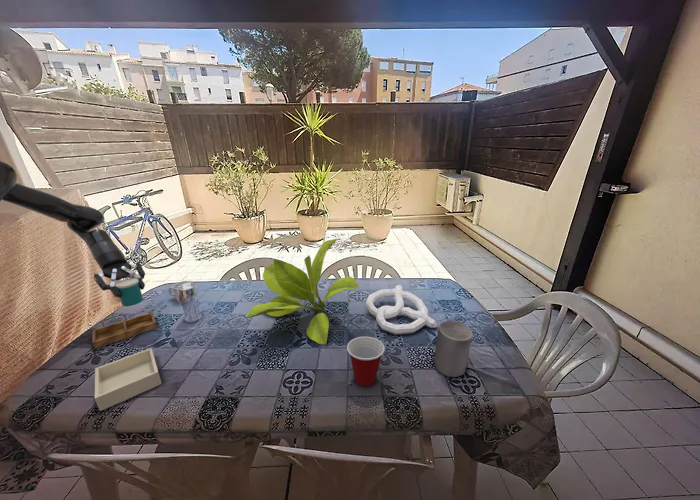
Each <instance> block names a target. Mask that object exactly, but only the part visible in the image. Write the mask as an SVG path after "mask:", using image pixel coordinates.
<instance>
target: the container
mask: <svg viewBox="0 0 700 500" xmlns="http://www.w3.org/2000/svg"><path fill="white" fill-rule="evenodd" d="M138 282H139V281H138V279H135V278H132V279H130V278H125V279H121V280H118V281H117V282H115V286H116V287H117V289H118V290H119V292H120V293H121V297H119V300H120V303H121V305H122V306H123V307H131V306H136V305H138V304H140V303H142V302H143V301H144V298H143V294H142V290H141V289H140V286H139V283H138Z"/></svg>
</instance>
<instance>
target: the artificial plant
mask: <svg viewBox="0 0 700 500" xmlns="http://www.w3.org/2000/svg"><path fill="white" fill-rule="evenodd" d="M337 241H338V238H333V239H329V240H326V241H324V242H323V243H322V244H321V245H320V247H319V248H318V250H317V252H316V254H315V255H314V258H313V260H312V258H311V255H307V256H306V257H305V258H304V259H303V260H304V265H305V268H306V272H307V273H306V272H305V271H303V269H301V268H299V267H297V266H296V265H294V264H293V263H289V262H286V261H283V260H280V259H274V260H273V263H272V264H270V265H267V266H266V267H265V268H264V269H263V273H262V280H263V282H264V284H265V286H266V287H267V288H268V289H269V290H270V291H271V292H272V293H275V294H277V296H276V297H274V298H272V299H271V300H270V301H269V302H265V303H259V304H256V305H254V306H253V307H252V308H251V309H250V310H249V311H248V313H247V314H246V315H245V317H246V318H254V317H258V316H262V315H264V314H266V315H268V316H270V317H277V318H278V317H280V318H281V317H284V316H286V315H289V314H291V313H294V312H295V311H297V310H299V309H308V310H309V309H310V310H312V311H315V312H317V313H316V315H314V316H313V318H312V319H311V320H310V322H309V324H308V326H307V328H306V336H307V337H308V338H309V339H310V341H311V340H312V341H314V342H315V343H316V344H319V345H327V342H328V336H329V335H328V334H329V328H330V321H329V317H328V316H327V315H326V313H325V312H324V311H325V310H326V307H327V305H326V303H325V302H326V301H327V300H329V299H330V298H332V297H333V296H335V295H337V294H339V293H341V292H344V291H347V290H356V289H359V288H360V286H359V284H358V282H357V281H356V280H355V278H354V277H352V276H344V277H341V278H339V279H337V280H335V281H334V282H333V283H332V284H331V286H330V287H329V289H328V291H327V293H326V295H325V296H324V298H323V300H322V299H321V297H320V295H319V294H320V293H319V290H318V289H319V288H318V284H319V281H320V280H321V278H322V277H321V276H322V270H323V265H324V260H325V257H326V254H327V251H328V250H329V249H330V248H331V247H332V246H333V245H334V244H335V243H336V242H337ZM316 298H317V300H318V302H317V301H316ZM298 300H300V301H306V302H307V301H308V302H309V303H310V304H311V305H312V306H311V305H304V304H301V302H299V301H298Z"/></svg>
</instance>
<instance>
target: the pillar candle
mask: <svg viewBox="0 0 700 500" xmlns="http://www.w3.org/2000/svg"><path fill="white" fill-rule="evenodd" d="M473 336H474V334H473V332H472V329H471V328H469V326H468V325H466V324H464V323H463V322H459V321H456V320H445V321H442V322H440V323H439V325H438V329H437V337H436V344H435V349H434V355H433V356H434V357H433V365H434V367H435V369H436V370H437V371H438V372H439V373H440V374H442V375H444V376H445V377H446V376H447V377H450V378H458V377H460V376H463V375H464V374H465V373H466V369H467V365H468V361H469V360H468V359H469V355H470V349H471V343H472V339H473Z"/></svg>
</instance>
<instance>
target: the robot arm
mask: <svg viewBox="0 0 700 500" xmlns="http://www.w3.org/2000/svg"><path fill="white" fill-rule="evenodd" d="M1 201H3V202H7V203H10V204H13V205H15V206H18V207H20V208H24V209H27V210H30V211H32V212H35V213H37V214H39V215H42V216H44V217H48V218H51V219H52V220H56V221H58V222H60V223H66V226H67V228H68V229H69V230H71V231H72V233H74V234H76V235H77V236H78V237H79V238H80V239H81V240H82V241H83V242H84V243H85V244H86V246H87V247H88V249H89V251H90V253H91V255H92V257H93V259H94V261H95V262H96V264H97V266H98V267H99V268H100V270H101V271H102V272H101V273H94V274H93V280H94V281H95V283H96V285H98V287H99V288H100V289H101V290H102V291H110V292H111V293H112V295H113V296H114V297H115V298H117V299H120V297H121V293H120V292H119V290H118V289H117V287H116V286H115V284H116V281H117V282H119V281H121V280H124V279H132V278H135V279H138V281H139V282H138V283H139V286H140V290H141V291H142V290H144V289H145V287H146V284H145V282H144V280H143V279H144V278H145V276H146V272H145V270H144V268H143V266H142V265H141V264H142V263H141V262H138V261H137V262H136V263H133V264H130V263H129V262H128V261H127V259H126V258H125V256H124V254H123V253H122V252H121V250H120V248H119V247H118V246H117V244H116V243H115V242H114V241H113V239H112V238H111V236H110V235H109V233H108V231H106V230H104V229H96V228H98V227H99V226H101V225H103V224H104V222H105V215H104V214H103V213H102V212H101V211H100V210H98V209H96V208H94V207H92V206H86V205H81V204H78V203H77V204H76V203H72V202H70V201H67V200H65V199H64V198H61V197H59V196H57V195H54V194H51V193H49V192H45V191H42V190H39V189H37V188H33V187H30V186H26V185H23V184H21V183H18V174H17V172H16V170H15V169H14V167H12V165H10V164H8V162H4V161H1V160H0V202H1ZM132 269H133V270H135V271H136V272H137V273H136V272H135V271H133V270H132ZM104 277H105V278H107V279H110V281H109V284H107V283H106V281H105V280H104Z"/></svg>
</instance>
